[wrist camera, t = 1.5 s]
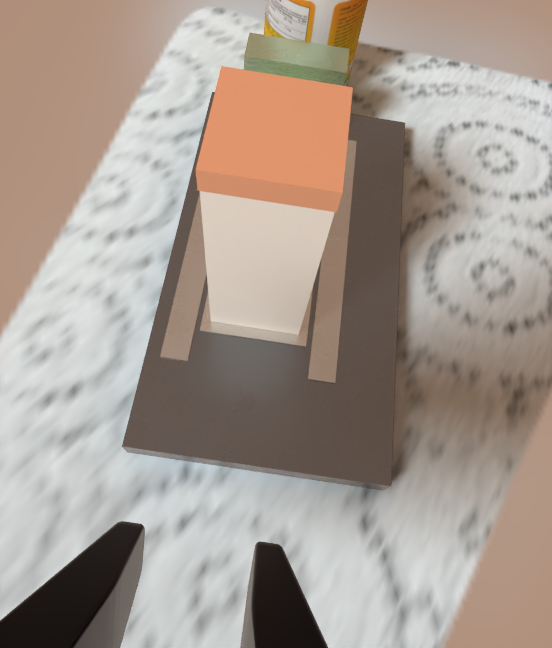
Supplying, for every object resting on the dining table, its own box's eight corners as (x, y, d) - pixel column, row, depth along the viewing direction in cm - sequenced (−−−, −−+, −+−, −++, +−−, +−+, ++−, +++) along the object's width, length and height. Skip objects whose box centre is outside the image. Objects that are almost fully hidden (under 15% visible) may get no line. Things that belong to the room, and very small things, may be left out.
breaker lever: (299, 335, 24) (342, 192, 15) (209, 322, 24) (195, 169, 14) (309, 259, 25) (353, 87, 16) (224, 245, 25) (221, 66, 16)
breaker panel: (383, 490, 22) (423, 470, 18) (127, 452, 22) (99, 422, 18) (398, 138, 31) (428, 61, 26) (212, 108, 31) (209, 26, 26)
